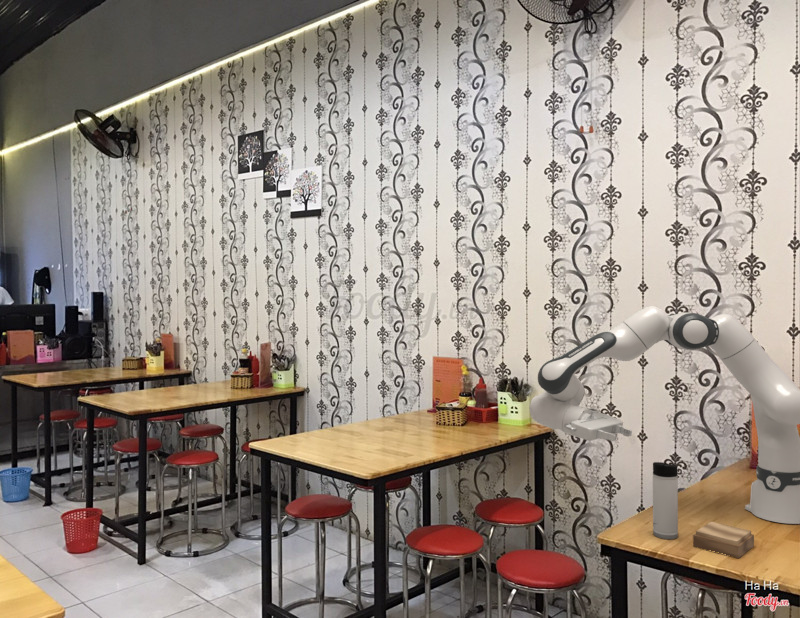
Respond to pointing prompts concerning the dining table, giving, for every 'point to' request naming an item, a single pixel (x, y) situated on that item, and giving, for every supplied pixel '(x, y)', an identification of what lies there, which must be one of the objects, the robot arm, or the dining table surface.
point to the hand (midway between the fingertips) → (623, 435)
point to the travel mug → (665, 500)
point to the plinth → (724, 539)
